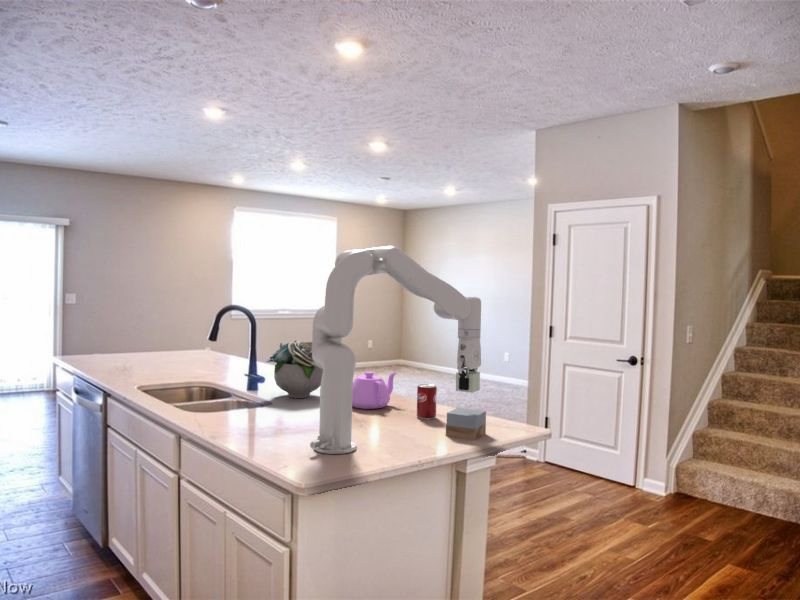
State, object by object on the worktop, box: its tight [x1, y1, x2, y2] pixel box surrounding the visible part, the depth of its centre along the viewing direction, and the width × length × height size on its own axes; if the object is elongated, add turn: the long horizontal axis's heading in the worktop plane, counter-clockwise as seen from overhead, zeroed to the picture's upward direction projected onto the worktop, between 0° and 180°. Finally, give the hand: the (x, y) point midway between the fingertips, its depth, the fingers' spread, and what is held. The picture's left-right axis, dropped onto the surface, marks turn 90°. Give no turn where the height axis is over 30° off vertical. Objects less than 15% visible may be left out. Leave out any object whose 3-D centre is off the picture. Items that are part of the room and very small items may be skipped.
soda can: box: [416, 383, 438, 420], centre depth 216 cm, size 7×7×12 cm
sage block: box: [455, 370, 481, 394], centre depth 193 cm, size 6×6×6 cm
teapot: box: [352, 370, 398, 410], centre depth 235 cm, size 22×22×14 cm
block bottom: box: [445, 422, 487, 441], centre depth 193 cm, size 10×10×4 cm
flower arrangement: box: [266, 340, 323, 399], centre depth 249 cm, size 25×25×24 cm
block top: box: [446, 407, 487, 429], centre depth 193 cm, size 10×10×4 cm
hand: (467, 387), depth 193 cm, fingers closed on sage block, 6 cm apart
